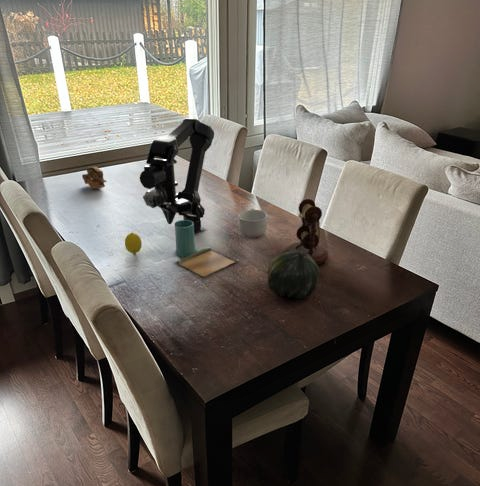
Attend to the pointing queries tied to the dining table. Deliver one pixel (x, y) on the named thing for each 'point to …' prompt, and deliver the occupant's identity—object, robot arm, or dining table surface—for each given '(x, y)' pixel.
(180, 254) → the cup
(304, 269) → the squash
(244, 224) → the teacup
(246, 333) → the dining table surface
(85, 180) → the wooden carving
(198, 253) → the cork mat
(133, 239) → the lemon
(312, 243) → the brown spool stand
